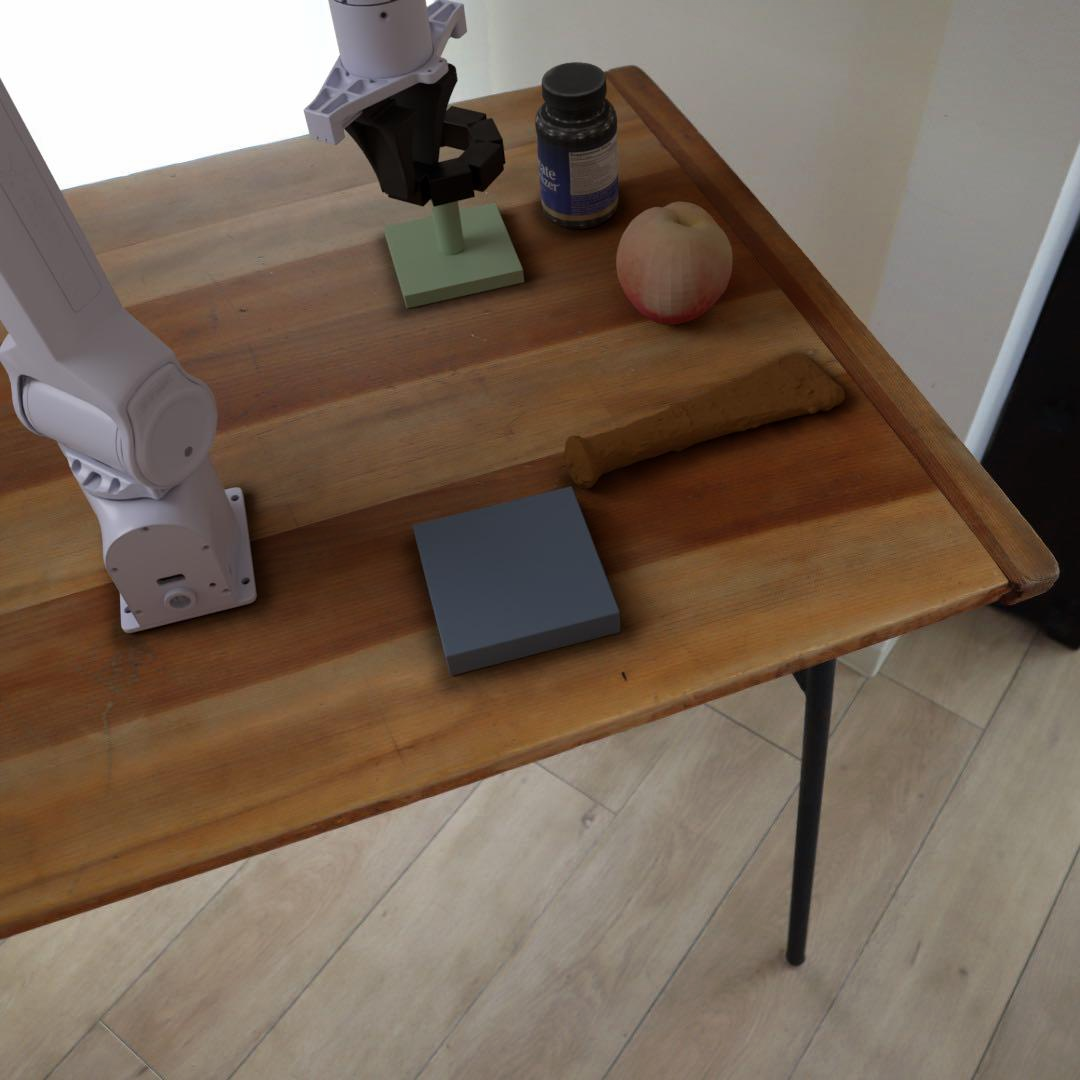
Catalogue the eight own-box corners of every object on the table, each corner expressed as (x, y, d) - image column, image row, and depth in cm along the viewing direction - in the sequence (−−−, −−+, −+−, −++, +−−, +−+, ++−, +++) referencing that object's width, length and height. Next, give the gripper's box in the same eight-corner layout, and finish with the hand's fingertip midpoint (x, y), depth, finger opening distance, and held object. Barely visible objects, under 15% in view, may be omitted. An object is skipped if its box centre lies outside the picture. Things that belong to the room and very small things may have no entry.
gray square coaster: (620, 632, 67) (620, 612, 66) (450, 676, 66) (445, 657, 65) (573, 506, 73) (571, 485, 72) (417, 545, 72) (412, 524, 71)
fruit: (751, 320, 83) (759, 225, 77) (651, 359, 81) (651, 265, 75) (694, 260, 88) (697, 166, 82) (599, 295, 86) (594, 202, 80)
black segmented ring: (517, 187, 80) (514, 161, 78) (390, 217, 79) (385, 191, 77) (485, 121, 85) (482, 96, 84) (366, 149, 84) (361, 123, 83)
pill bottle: (532, 196, 95) (520, 67, 86) (604, 178, 96) (599, 48, 87) (556, 239, 91) (546, 108, 82) (630, 220, 92) (628, 89, 83)
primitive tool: (800, 355, 81) (805, 316, 78) (851, 403, 77) (858, 363, 75) (556, 467, 76) (552, 429, 73) (599, 523, 72) (597, 485, 70)
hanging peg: (524, 282, 88) (517, 212, 83) (406, 308, 87) (392, 239, 82) (496, 214, 94) (488, 145, 89) (386, 238, 93) (371, 169, 88)
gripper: (355, 55, 64) (397, 259, 74) (496, -59, 71) (516, 141, 82) (256, 30, 67) (310, 230, 77) (401, -78, 74) (433, 118, 85)
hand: (410, 183), depth 80 cm, fingers closed on black segmented ring, 2 cm apart
